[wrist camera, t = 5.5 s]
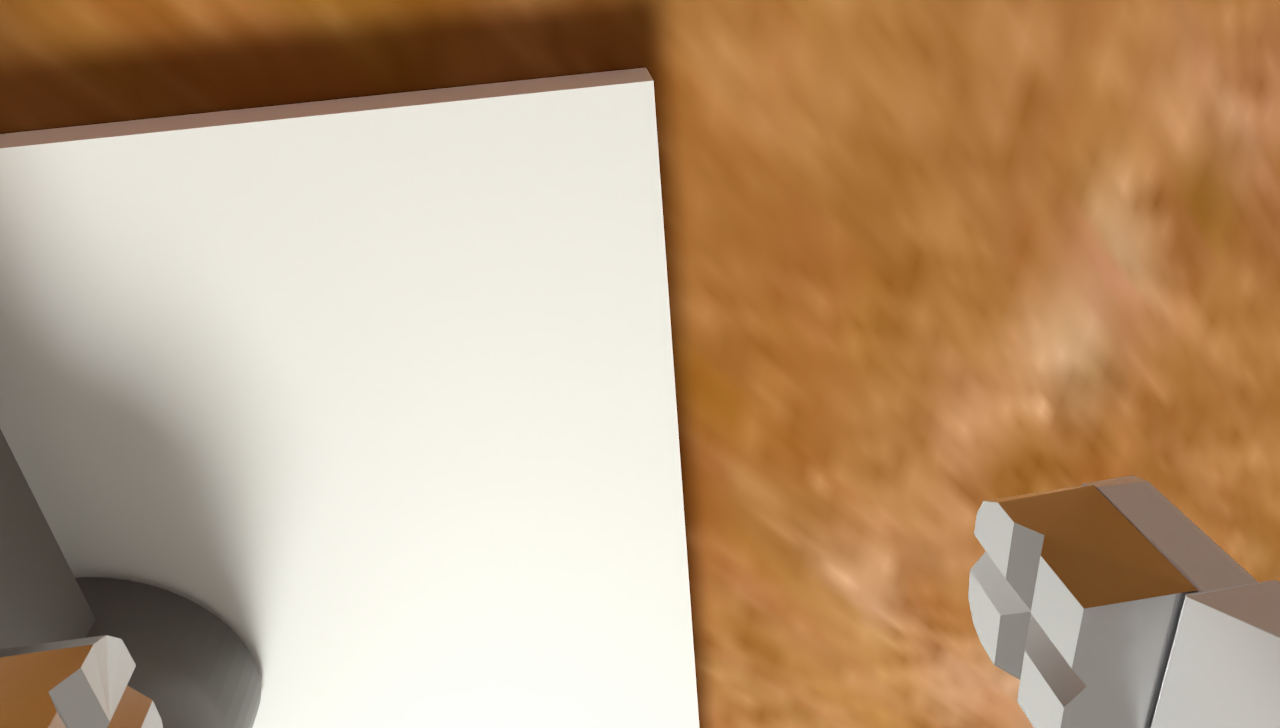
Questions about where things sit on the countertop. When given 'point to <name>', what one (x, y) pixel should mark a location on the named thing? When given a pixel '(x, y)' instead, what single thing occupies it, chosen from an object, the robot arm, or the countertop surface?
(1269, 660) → the robot arm
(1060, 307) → the countertop surface
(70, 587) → the dial
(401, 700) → the tuner board
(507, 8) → the countertop surface
